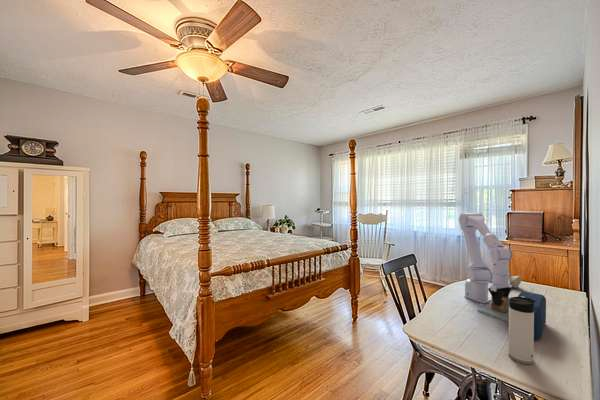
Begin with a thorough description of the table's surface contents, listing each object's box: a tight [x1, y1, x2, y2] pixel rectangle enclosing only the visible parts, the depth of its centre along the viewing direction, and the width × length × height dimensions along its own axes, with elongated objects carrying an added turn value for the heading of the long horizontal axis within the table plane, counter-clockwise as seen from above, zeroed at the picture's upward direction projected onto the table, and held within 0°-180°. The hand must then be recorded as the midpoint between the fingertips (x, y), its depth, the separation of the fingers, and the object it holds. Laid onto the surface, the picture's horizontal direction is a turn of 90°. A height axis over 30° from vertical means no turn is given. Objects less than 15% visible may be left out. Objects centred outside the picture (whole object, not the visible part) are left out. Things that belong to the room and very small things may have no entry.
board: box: [477, 302, 509, 323], centre depth 118 cm, size 12×14×1 cm
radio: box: [517, 290, 547, 341], centre depth 104 cm, size 21×9×20 cm, turn 132°
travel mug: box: [508, 296, 535, 365], centre depth 86 cm, size 6×7×20 cm
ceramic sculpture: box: [489, 272, 523, 289], centre depth 150 cm, size 11×9×15 cm
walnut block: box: [490, 296, 510, 314], centre depth 118 cm, size 5×5×6 cm
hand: (500, 303), depth 118 cm, fingers open, 6 cm apart
